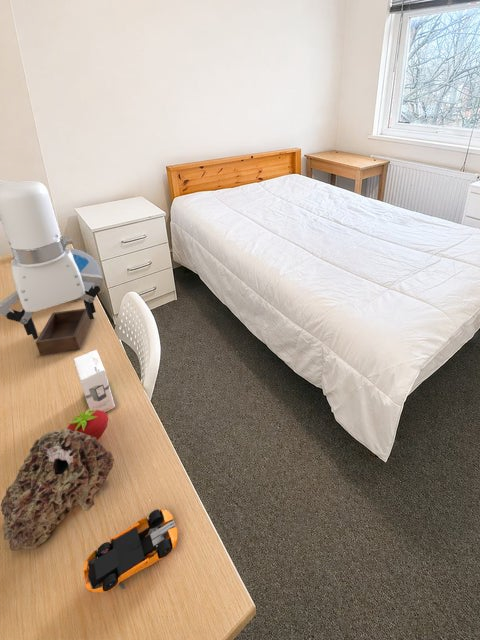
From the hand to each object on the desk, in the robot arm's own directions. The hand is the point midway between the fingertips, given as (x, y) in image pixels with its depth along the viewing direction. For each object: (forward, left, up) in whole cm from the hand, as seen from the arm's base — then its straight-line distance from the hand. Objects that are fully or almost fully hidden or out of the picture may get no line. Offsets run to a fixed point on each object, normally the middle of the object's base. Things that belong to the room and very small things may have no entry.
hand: (64, 325), depth 71 cm
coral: (-5, -17, -13) cm, 23 cm away
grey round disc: (-17, +55, -17) cm, 60 cm away
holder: (-13, +29, -24) cm, 40 cm away
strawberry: (+2, -9, -24) cm, 26 cm away
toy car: (+14, -32, -21) cm, 41 cm away
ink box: (+1, +2, -24) cm, 24 cm away
